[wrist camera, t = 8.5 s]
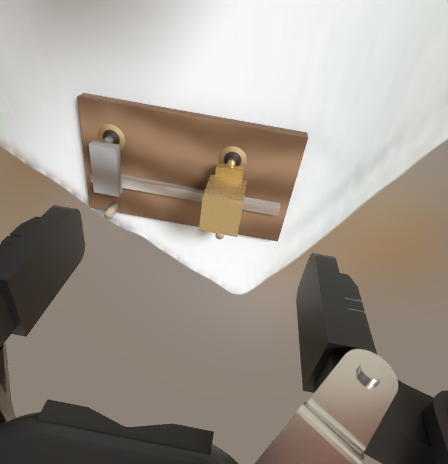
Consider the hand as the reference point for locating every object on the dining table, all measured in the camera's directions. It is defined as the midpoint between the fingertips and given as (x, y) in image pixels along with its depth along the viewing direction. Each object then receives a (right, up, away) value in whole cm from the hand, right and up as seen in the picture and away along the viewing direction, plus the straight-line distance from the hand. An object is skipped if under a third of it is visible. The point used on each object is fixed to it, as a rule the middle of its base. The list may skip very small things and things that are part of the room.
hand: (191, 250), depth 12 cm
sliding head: (+2, +6, +27) cm, 28 cm away
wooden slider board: (-3, +8, +29) cm, 31 cm away
